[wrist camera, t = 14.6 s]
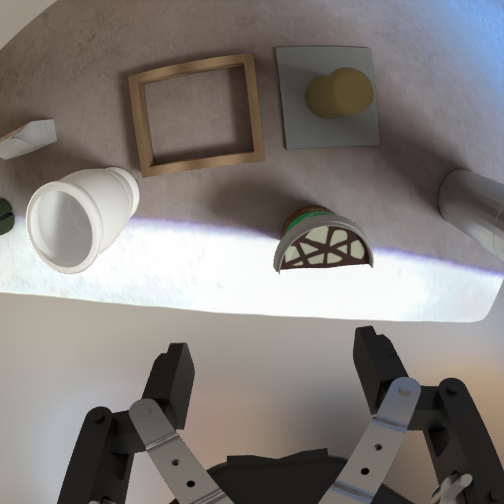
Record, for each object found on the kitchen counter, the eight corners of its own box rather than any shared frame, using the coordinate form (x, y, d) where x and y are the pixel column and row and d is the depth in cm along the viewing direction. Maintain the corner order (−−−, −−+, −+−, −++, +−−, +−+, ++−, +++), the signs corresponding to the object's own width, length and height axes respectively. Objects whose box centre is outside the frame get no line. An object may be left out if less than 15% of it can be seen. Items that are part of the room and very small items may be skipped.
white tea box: (57, 141, 38) (16, 150, 29) (28, 153, 38) (-12, 165, 29) (53, 119, 36) (12, 124, 27) (24, 132, 37) (-16, 140, 28)
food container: (355, 196, 41) (382, 218, 32) (353, 237, 44) (377, 267, 35) (268, 199, 42) (272, 222, 33) (270, 241, 44) (274, 274, 35)
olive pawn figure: (356, 88, 35) (390, 80, 25) (339, 127, 37) (368, 130, 27) (315, 68, 34) (337, 50, 24) (297, 107, 36) (314, 101, 26)
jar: (115, 241, 44) (68, 291, 31) (73, 193, 41) (13, 226, 27) (161, 197, 42) (119, 235, 28) (115, 144, 38) (55, 160, 25)
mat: (369, 48, 33) (370, 48, 32) (378, 145, 38) (379, 145, 38) (275, 48, 33) (275, 47, 33) (286, 149, 39) (286, 149, 38)
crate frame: (252, 56, 34) (252, 52, 31) (264, 158, 39) (265, 160, 37) (135, 78, 35) (128, 76, 32) (148, 174, 40) (142, 177, 38)
